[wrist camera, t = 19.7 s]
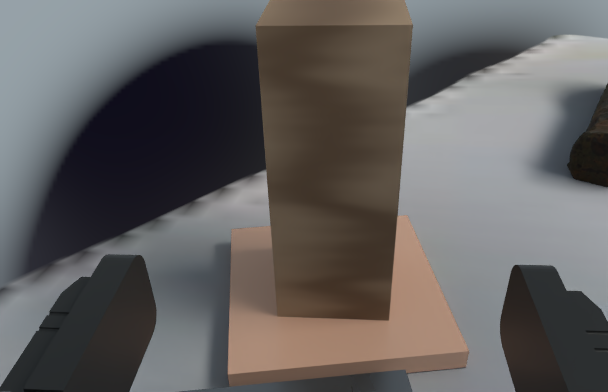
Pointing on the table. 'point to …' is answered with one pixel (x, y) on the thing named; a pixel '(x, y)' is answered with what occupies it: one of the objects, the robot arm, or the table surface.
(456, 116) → the table surface
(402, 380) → the hole plate
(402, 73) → the walnut block
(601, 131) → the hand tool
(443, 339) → the tile
